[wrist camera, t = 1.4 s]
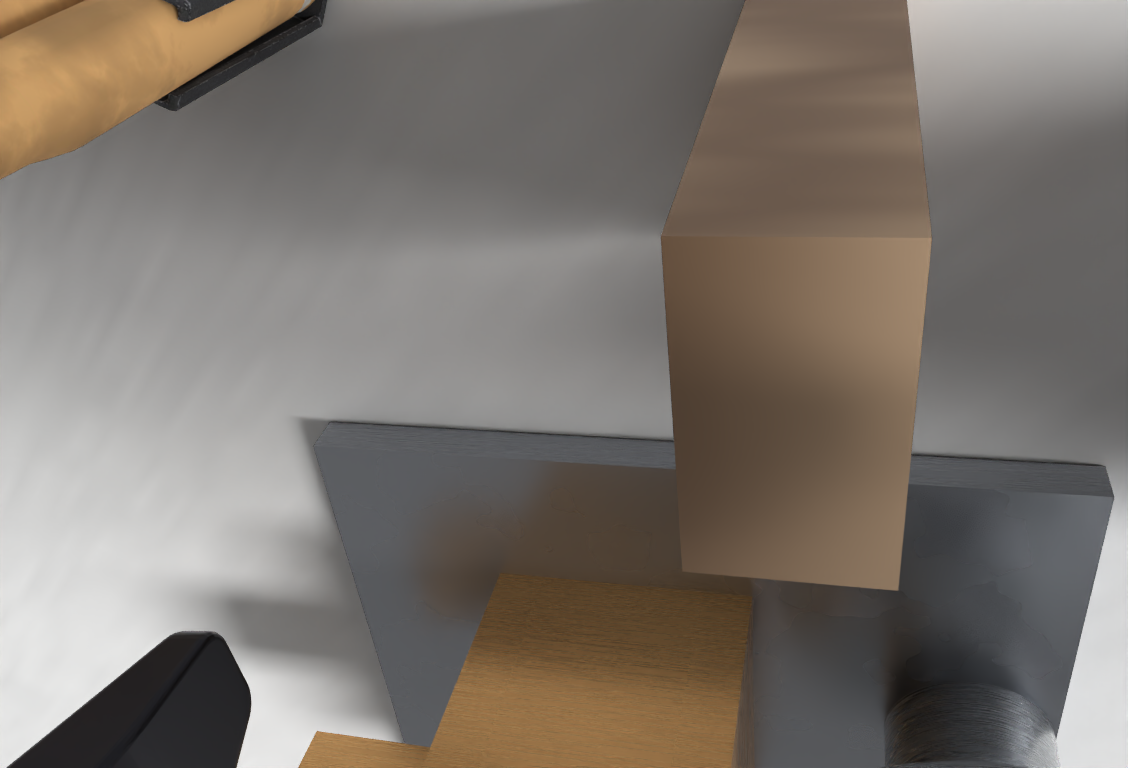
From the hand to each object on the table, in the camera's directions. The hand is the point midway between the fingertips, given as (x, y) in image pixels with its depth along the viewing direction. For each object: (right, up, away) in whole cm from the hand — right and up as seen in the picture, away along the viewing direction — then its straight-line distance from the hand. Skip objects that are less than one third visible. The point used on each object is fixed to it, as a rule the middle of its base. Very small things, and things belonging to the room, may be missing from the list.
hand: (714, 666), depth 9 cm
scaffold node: (+4, -6, +20) cm, 21 cm away
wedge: (+3, +8, +10) cm, 13 cm away
